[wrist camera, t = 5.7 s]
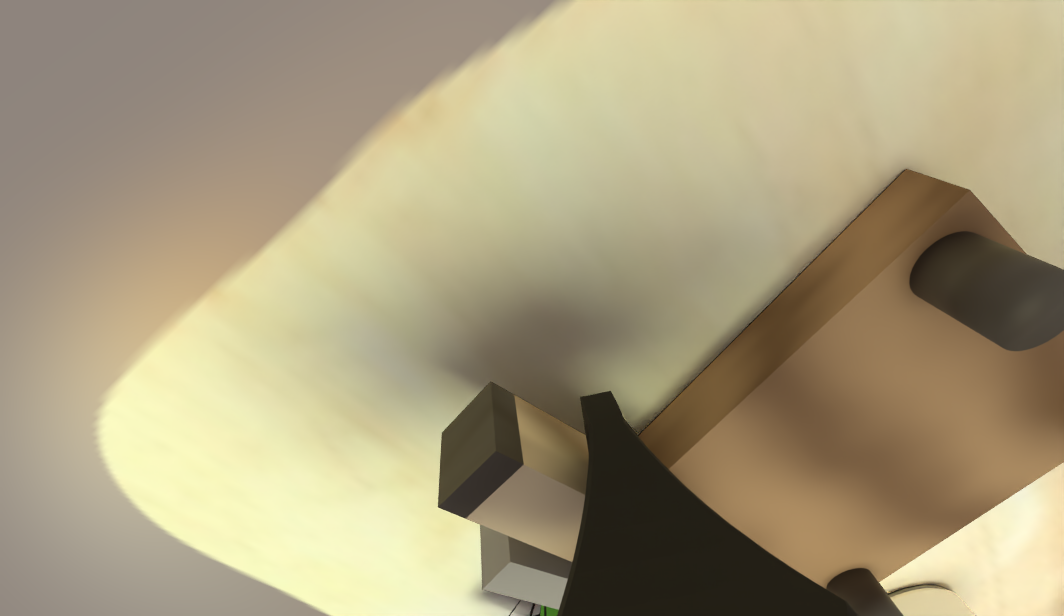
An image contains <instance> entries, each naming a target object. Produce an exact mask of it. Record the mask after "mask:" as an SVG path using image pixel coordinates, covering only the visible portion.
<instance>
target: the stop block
mask: <svg viewBox="0 0 1064 616" xmlns="http://www.w3.org/2000/svg"><path fill="white" fill-rule="evenodd" d="M480 533H481V563H482V590H485V591H489V592H493V593H497V594H501V595H505V596H508V597H512V598H516V599H520V600H524V601H527V602H531V603H535V604H539V605H543V606H546V607H550V608H554V609H558V610H559V607H560V604H561V601H562V597H563V594H564V590H565V587H566V583H567V580H568V576H569V573H570V569H571V565H572V562H571V561H568V560H566V559H563V558H561V557H559V556H556V555H554V554H551V553H549V552H546V551H544V550H541V549H539V548H537V547H534V546H532V545H529V544H527V543H524V542H522V541H519V540H517V539H515V538H512V537H510V536H507V535H505V534H502V533H500V532H497V531H495V530H492V529H490V528H488V527H485V526H483V525H480Z"/></svg>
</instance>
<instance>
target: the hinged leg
mask: <svg viewBox="0 0 1064 616" xmlns="http://www.w3.org/2000/svg"><path fill="white" fill-rule="evenodd" d="M588 462H589V452H588V446H587V439H586V435H585V434H583V433H581V432H579V431H577V430H576V429H574V428H572V427H570V426H569V425H567V424H565V423H563V422H562V421H560V420H558V419H556V418H554V417H553V416H551V415H549V414H547V413H546V412H544V411H542V410H540V409H539V408H537V407H535V406H533V405H531V404H530V403H528V402H526V401H524V400H523V399H521V398H519V397H517V396H516V395H514V394H512V393H510V392H509V391H507V390H505V389H503V388H501V387H500V386H498V385H496V384H494V383H493V382H490V383H489V384H488V385H487V386H486V387H485V388H484V389H483V390H482V391H481V392H480V393H479V394H478V395H477V396H476V398H475V399H474V400H473V401H472V402H471V403H470V404H469V405H468V406H467V407H466V408H465V409H464V410H463V411H462V412H461V413H460V414H459V415H458V416H457V418H456V419H455V420H454V421H453V422H452V423H451V424H450V425H449V426H448V427H447V428H446V429H445V430H444V431H443V432H442V441H441V459H440V478H439V497H438V507H439V508H441V509H443V510H446V511H448V512H451V513H453V514H456V515H458V516H461V517H463V518H466V519H468V520H470V521H473V522H475V523H478V524H480V525H483V526H485V527H488V528H490V529H492V530H495V531H497V532H500V533H502V534H505V535H507V536H510V537H512V538H515V539H517V540H519V541H522V542H524V543H527V544H529V545H532V546H534V547H537V548H539V549H541V550H544V551H546V552H549V553H551V554H554V555H556V556H559V557H561V558H563V559H566V560H568V561H571V562H572V561H573V557H574V553H575V548H576V544H577V539H578V535H579V530H580V524H581V519H582V513H583V507H584V500H585V493H586V484H587V474H588Z"/></svg>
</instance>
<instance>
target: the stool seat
mask: <svg viewBox="0 0 1064 616" xmlns="http://www.w3.org/2000/svg"><path fill="white" fill-rule="evenodd" d="M638 437H639V438H640V439H641V440H642V441H643V442H644V444H645V445H646V446H647V447H648V448H649V449H650V450H651V451H652V453H653V454H654V455H655V456H656V457H657V458H658V459H659V460H660V461H661V462H662V463H663V464H664V465H665V466H666V467H667V468H668V469H669V470H670V471H671V472H672V473H673V474H674V475H675V476H676V477H677V478H678V479H679V480H680V481H681V482H682V483H683V484H684V485H685V486H686V487H687V488H688V489H689V490H691V491H692V492H693V493H694V494H695V495H696V496H697V497H698V498H700V499H701V500H702V501H703V502H704V503H705V504H706V505H708V506H709V507H710V508H711V509H712V510H714V511H715V512H716V513H717V514H719V515H720V516H721V517H722V518H723V519H725V520H726V521H727V522H728V523H730V524H731V525H732V526H734V527H735V528H736V529H738V530H739V531H741V532H742V533H743V534H745V535H746V536H747V537H749V538H750V539H751V540H753V541H754V542H755V543H757V544H758V545H760V546H761V547H762V548H764V549H765V550H766V551H768V552H769V553H771V554H772V555H774V556H775V557H777V558H778V559H780V560H781V561H783V562H784V563H786V564H787V565H789V566H790V567H792V568H793V569H795V570H796V571H798V572H799V573H801V574H803V575H804V576H806V577H807V578H809V579H811V580H812V581H814V582H815V583H817V584H819V585H820V586H822V587H824V588H825V589H827V590H829V591H830V592H832V593H834V594H835V595H837V596H839V597H840V598H842V599H844V600H845V601H847V602H848V604H849V605H850V606H851V607H852V608H853V609H854V611H855V612H856V613H857V614H858V615H859V616H903V614H902V613H901V612H900V610H899V609H898V608H897V606H896V605H895V604H894V602H893V601H892V600H891V598H890V597H889V596H888V594H887V593H886V591H885V590H884V589H883V587H882V586H881V585H880V583H879V582H880V581H881V580H883V579H885V578H886V577H888V576H889V575H891V574H892V573H894V572H895V571H897V570H898V569H900V568H901V567H903V566H905V565H906V564H908V563H909V562H911V561H912V560H914V559H915V558H917V557H918V556H920V555H921V554H923V553H925V552H926V551H928V550H929V549H931V548H932V547H934V546H935V545H937V544H938V543H940V542H941V541H943V540H944V539H946V538H948V537H949V536H951V535H952V534H954V533H955V532H957V531H958V530H960V529H961V528H963V527H964V526H966V525H968V524H969V523H971V522H972V521H974V520H975V519H977V518H978V517H980V516H981V515H983V514H984V513H986V512H988V511H989V510H991V509H992V508H994V507H995V506H997V505H998V504H1000V503H1001V502H1003V501H1004V500H1006V499H1008V498H1009V497H1011V496H1012V495H1014V494H1015V493H1017V492H1018V491H1020V490H1021V489H1023V488H1024V487H1026V486H1027V485H1029V484H1031V483H1032V482H1034V481H1035V480H1037V479H1038V478H1040V477H1041V476H1043V475H1044V474H1046V473H1047V472H1049V471H1051V470H1052V469H1054V468H1055V467H1057V466H1058V465H1060V464H1061V463H1063V462H1064V270H1063V269H1060V268H1058V267H1056V266H1053V265H1051V264H1048V263H1046V262H1044V261H1041V260H1039V259H1036V258H1034V257H1031V256H1029V255H1027V254H1026V253H1025V252H1024V251H1023V250H1022V248H1021V247H1020V246H1019V245H1018V244H1017V243H1016V242H1015V240H1014V239H1013V238H1012V237H1011V236H1010V235H1009V234H1008V233H1007V231H1006V230H1005V229H1004V228H1003V227H1002V226H1001V225H1000V223H999V222H998V221H997V220H996V219H995V218H994V217H993V216H992V214H991V213H990V212H989V211H988V210H987V209H986V208H985V206H984V205H983V204H982V203H981V202H980V201H979V200H978V198H977V197H976V196H975V195H974V194H973V193H972V192H971V191H970V190H968V189H965V188H962V187H959V186H956V185H953V184H950V183H947V182H944V181H941V180H938V179H935V178H932V177H929V176H926V175H923V174H920V173H917V172H914V171H911V170H908V169H906V170H905V171H904V172H903V173H902V174H901V175H900V176H899V177H898V178H897V179H896V180H895V181H894V182H893V183H892V184H891V185H890V186H889V187H888V188H887V189H886V190H885V191H884V192H883V193H882V194H881V195H880V196H879V197H878V198H877V199H876V200H875V201H874V202H873V203H872V204H871V205H870V206H869V207H868V208H867V209H866V210H865V211H864V212H863V213H861V214H860V215H859V216H858V217H857V218H856V219H855V220H854V221H853V222H852V223H851V224H850V225H849V226H848V227H847V228H846V229H845V230H844V231H843V232H842V233H841V234H840V235H839V236H838V237H837V238H836V239H835V240H834V241H833V242H832V243H831V244H830V245H829V246H828V247H827V248H826V249H825V250H824V251H823V252H822V253H821V254H820V255H819V256H818V257H817V258H816V259H815V260H814V261H813V262H812V263H811V264H810V265H809V266H808V267H807V268H806V269H805V270H804V271H803V272H802V273H801V274H800V275H799V276H798V277H797V278H796V279H795V280H794V281H793V282H792V283H791V284H790V285H789V286H788V287H787V288H786V289H785V290H784V291H783V292H782V293H781V294H780V295H779V296H778V297H777V298H776V299H775V300H774V301H773V302H772V303H771V304H770V305H769V306H768V307H767V308H766V309H765V310H764V311H763V312H762V313H761V314H760V315H759V316H758V317H757V318H756V319H755V320H754V321H753V322H752V323H751V324H750V325H749V326H748V327H747V328H746V329H745V330H744V331H743V332H742V333H741V334H740V335H739V336H738V337H737V338H736V339H735V340H734V341H733V342H732V343H731V344H730V345H729V346H728V347H727V348H726V349H725V350H724V351H723V352H722V353H721V354H720V355H719V356H718V357H717V358H716V359H715V360H714V361H713V362H712V363H711V364H710V365H709V366H708V367H707V368H706V369H705V370H704V371H703V372H702V373H701V374H700V375H699V376H698V377H697V378H696V379H695V380H694V381H693V382H692V383H691V384H690V385H689V386H688V387H687V388H686V389H685V390H684V391H683V392H682V393H681V394H680V395H679V396H678V397H677V398H676V399H675V400H674V401H673V402H672V403H671V404H670V405H669V406H668V407H667V408H666V409H665V410H664V411H663V412H662V413H661V414H660V415H659V416H658V417H657V418H656V419H655V420H654V421H653V422H652V423H651V424H650V425H649V426H648V427H647V428H646V429H645V430H644V431H643V432H642V433H641V434H640V435H639V436H638Z"/></svg>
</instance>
